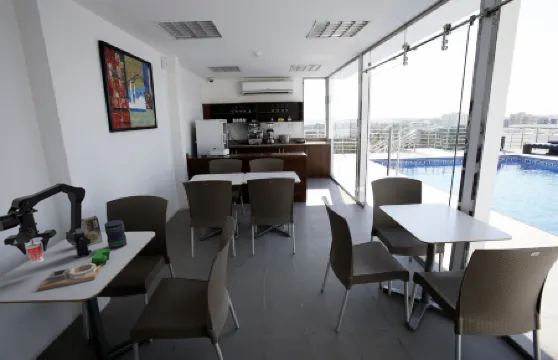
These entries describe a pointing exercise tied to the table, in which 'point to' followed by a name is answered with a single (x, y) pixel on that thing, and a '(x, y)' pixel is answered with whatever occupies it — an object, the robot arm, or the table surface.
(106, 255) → the clamp
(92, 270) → the socket board
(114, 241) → the storage jar
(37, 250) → the beverage cup
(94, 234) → the coffee box
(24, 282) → the table surface
